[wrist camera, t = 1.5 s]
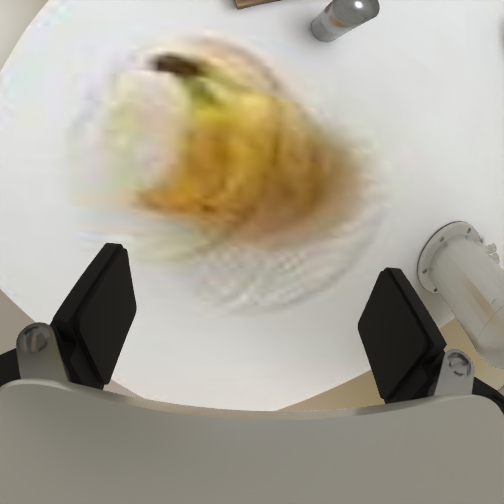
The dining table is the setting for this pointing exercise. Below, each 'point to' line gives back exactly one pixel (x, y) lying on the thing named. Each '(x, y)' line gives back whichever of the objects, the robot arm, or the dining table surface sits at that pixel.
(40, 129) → the dining table surface
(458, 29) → the dining table surface
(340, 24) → the pin
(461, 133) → the dining table surface
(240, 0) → the bore block
